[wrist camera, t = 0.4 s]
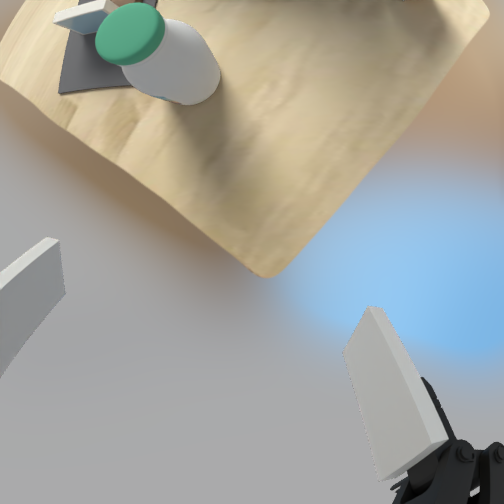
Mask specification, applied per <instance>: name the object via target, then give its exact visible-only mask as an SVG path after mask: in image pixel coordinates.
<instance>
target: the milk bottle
mask: <svg viewBox="0 0 504 504" xmlns="http://www.w3.org/2000/svg"><path fill="white" fill-rule="evenodd" d="M95 46H96V49H97V52H98V53H99V55H100V56H101V57H102V58H103V59H104V60H106V61H108V62H110V63H113V64H116V65H118V66H121V67H122V71H123V73H124V75H125V77H126V79H127V80H128V81H129V83H130V84H131V85H132V86H133V87H135V88H136V89H138V90H139V91H141V92H143V93H145V94H148V95H150V96H153V97H156V98H159V99H163V100H166V101H169V102H173V103H176V104H180V105H194V104H197V103H200V102H202V101H204V100H206V99H207V98H209V97H210V96H211V95H212V94H213V93H214V91H215V90H216V88H217V87H218V84H219V81H220V68H219V65H218V63H217V61H216V59H215V57H214V55H213V53H212V52H211V50H210V48H209V47H208V45H207V44H206V42H205V40H204V39H203V38H202V36H201V35H200V34H199V33H198V32H197V31H196V30H195V29H194V28H192V27H191V26H190V25H188V24H186V23H184V22H181V21H178V20H173V19H164V17H163V16H161V14H160V13H159V12H158V11H157V10H156V9H155V8H154V7H152V6H151V5H148V4H145V3H139V2H136V3H129V4H126V5H123V6H121V7H119V8H117V9H116V10H114V11H113V12H112V13H110V14H109V15H108V16H107V17H106V18H105V19H104V21H103V22H102V23H101V25H100V27H99V29H98V31H97V34H96V39H95Z"/></svg>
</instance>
